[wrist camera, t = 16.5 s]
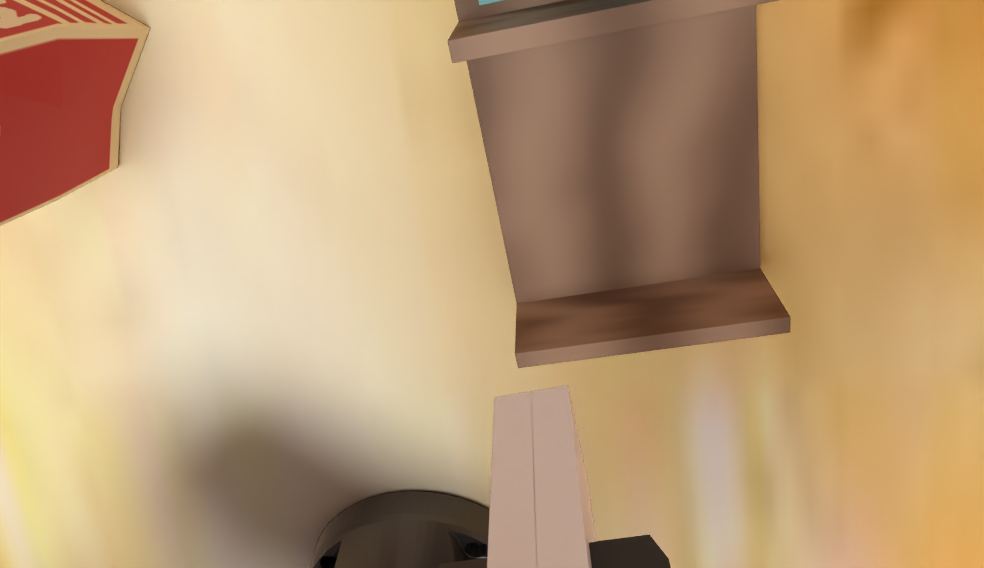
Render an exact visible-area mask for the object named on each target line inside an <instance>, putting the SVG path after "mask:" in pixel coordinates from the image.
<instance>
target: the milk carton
mask: <svg viewBox="0 0 984 568" xmlns="http://www.w3.org/2000/svg"><path fill="white" fill-rule="evenodd" d="M149 30H150V28H149V27H148V26H146V25H144V24H142V23H140V22H139V21H137V20H135V19H133V18H132V17H130V16H128V15H126V14H124V13H123V12H121V11H119V10H117V9H115V8H114V7H112V6H110V5H108V4H106V3H105V2H103V1H101V0H0V226H1V225H3V224H5V223H8V222H10V221H12V220H14V219H16V218H19V217H21V216H23V215H25V214H27V213H30V212H32V211H34V210H36V209H38V208H41V207H43V206H45V205H47V204H49V203H52V202H54V201H56V200H58V199H60V198H62V197H64V196H66V195H68V194H69V193H71V192H73V191H75V190H77V189H79V188H81V187H82V186H84V185H86V184H88V183H90V182H92V181H94V180H96V179H97V178H99V177H101V176H103V175H105V174H107V173H109V172H111V171H112V170H114V169H116V168H118V152H119V132H120V113H121V105H122V102H123V100H124V97H125V94H126V92H127V89H128V86H129V84H130V81H131V78H132V76H133V73H134V70H135V68H136V65H137V62H138V60H139V57H140V54H141V52H142V49H143V46H144V44H145V41H146V38H147V35H148V33H149Z"/></svg>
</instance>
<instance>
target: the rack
mask: <svg viewBox="0 0 984 568" xmlns="http://www.w3.org/2000/svg"><path fill="white" fill-rule="evenodd" d="M454 1H455V6H456V11H457V15H458V20H459V22H458V24H457V26H456V27H455V29H454V31H453V32H452V34H451V36H450V38H449V39H448V45H449V50H450V54H451V59H452V63H456V62H461V61H466V60H467V64H468V69H469V74H470V79H471V83H472V88H473V93H474V98H475V103H476V108H477V113H478V117H479V122H480V127H481V132H482V137H483V142H484V147H485V151H486V156H487V161H488V166H489V171H490V176H491V181H492V185H493V190H494V195H495V200H496V205H497V210H498V215H499V219H500V224H501V229H502V234H503V239H504V244H505V249H506V253H507V258H508V263H509V268H510V273H511V278H512V283H513V287H514V292H515V297H516V302H517V313H516V341H515V356H516V361H517V365H518V368H523V367H530V366H538V365H545V364H553V363H561V362H568V361H576V360H583V359H591V358H599V357H606V356H614V355H622V354H629V353H637V352H644V351H652V350H660V349H667V348H675V347H682V346H690V345H698V344H705V343H713V342H721V341H728V340H736V339H743V338H751V337H759V336H766V335H774V334H781V333H789V332H790V316H789V314H788V312H787V311H786V309H785V308H784V306H783V304H782V303H781V301H780V299H779V298H778V296H777V295H776V293H775V291H774V290H773V288H772V287H771V285H770V283H769V282H768V280H767V279H766V277H765V275H764V274H763V272H762V270H761V269H760V221H759V162H758V103H757V44H756V5H757V4H762V3H767V2H772V1H777V0H454Z"/></svg>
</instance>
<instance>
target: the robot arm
mask: <svg viewBox="0 0 984 568" xmlns="http://www.w3.org/2000/svg"><path fill="white" fill-rule="evenodd" d="M310 568H671V567H670V563H669V559H668V558H667V556H666V555H665V554H664V552H663V551H662V550H661V549H660V547H659V546H658V545H657V544H656V542H655V541H654V540H653V539H652V537H651V536H650V535H643V536H635V537H628V538H620V539H612V540H605V541H597V542H596V539H595V532H594V524H593V516H592V509H591V501H590V493H589V486H588V481H587V476H586V471H585V466H584V462H583V457H582V452H581V447H580V442H579V437H578V432H577V427H576V422H575V417H574V412H573V407H572V402H571V398H570V393H569V388H568V386H562V387H555V388H549V389H543V390H536V391H530V392H524V393H518V394H511V395H505V396H499V397H495V398H494V421H493V444H492V466H491V489H490V510H488V509H486V508H484V507H482V506H480V505H478V504H476V503H473V502H471V501H468V500H465V499H462V498H458V497H455V496H451V495H446V494H440V493H433V492H419V491H409V492H396V493H388V494H383V495H379V496H375V497H372V498H369V499H366V500H363V501H361V502H358V503H356V504H354V505H352V506H350V507H349V508H347V509H345V510H344V511H342V512H341V513H340V514H338V515H337V516H336V517H335V518H334V519H333V520H332V521H331V522H330V523H329V524H328V525H327V527H326V528H325V529H324V531H323V532H322V534H321V536H320V538H319V540H318V543H317V546H316V549H315V552H314V555H313V558H312V561H311V564H310Z"/></svg>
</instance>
